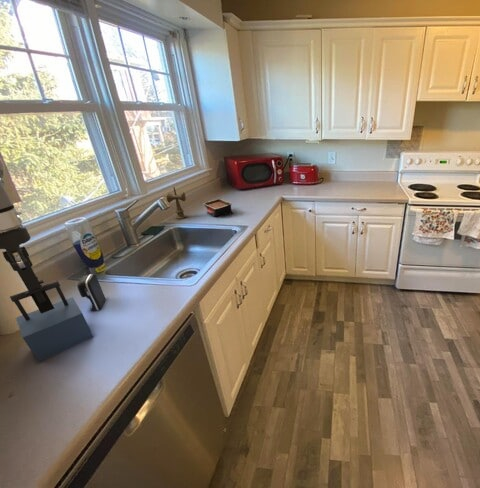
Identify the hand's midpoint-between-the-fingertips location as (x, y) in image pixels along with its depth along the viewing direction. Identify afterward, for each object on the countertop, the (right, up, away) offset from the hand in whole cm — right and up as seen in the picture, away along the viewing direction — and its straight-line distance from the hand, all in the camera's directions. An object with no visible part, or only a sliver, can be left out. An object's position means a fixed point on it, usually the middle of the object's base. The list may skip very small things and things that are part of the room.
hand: (46, 308), depth 76 cm
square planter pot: (+7, +37, +106) cm, 112 cm away
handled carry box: (+4, -5, -2) cm, 6 cm away
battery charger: (-3, -4, +21) cm, 21 cm away
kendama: (-14, +33, +98) cm, 105 cm away
